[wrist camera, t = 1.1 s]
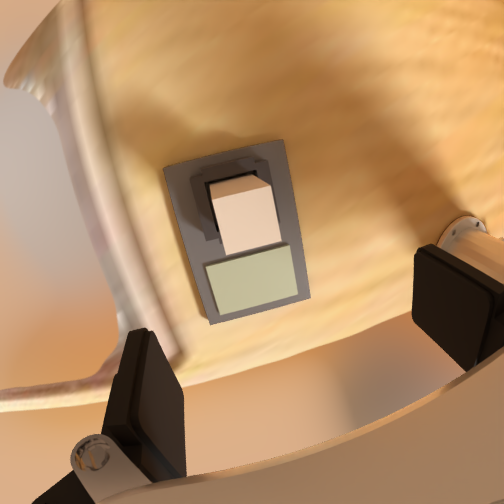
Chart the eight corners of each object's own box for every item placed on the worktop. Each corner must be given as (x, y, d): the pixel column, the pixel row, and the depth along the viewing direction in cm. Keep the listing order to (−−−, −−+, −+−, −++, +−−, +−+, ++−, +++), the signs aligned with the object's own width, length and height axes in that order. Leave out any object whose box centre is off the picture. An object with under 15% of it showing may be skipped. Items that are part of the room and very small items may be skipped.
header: (280, 139, 30) (289, 139, 27) (308, 294, 37) (317, 308, 33) (164, 167, 29) (159, 170, 26) (209, 320, 36) (211, 337, 32)
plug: (249, 172, 30) (270, 185, 20) (257, 210, 31) (281, 241, 22) (209, 182, 29) (211, 199, 20) (218, 220, 31) (226, 255, 22)
